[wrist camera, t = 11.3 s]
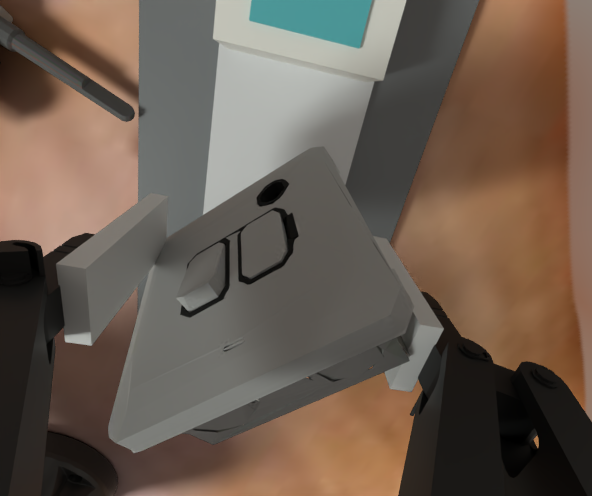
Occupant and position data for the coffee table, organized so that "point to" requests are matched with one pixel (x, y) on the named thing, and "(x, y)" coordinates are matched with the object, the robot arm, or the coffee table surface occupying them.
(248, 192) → the electrical switch
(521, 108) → the coffee table surface
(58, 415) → the coffee table surface
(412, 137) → the rail board
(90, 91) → the walkie-talkie
